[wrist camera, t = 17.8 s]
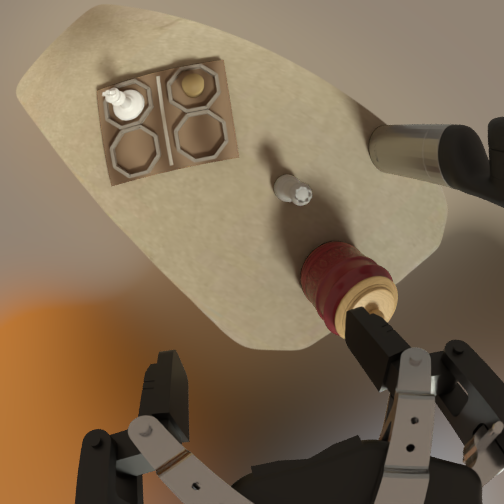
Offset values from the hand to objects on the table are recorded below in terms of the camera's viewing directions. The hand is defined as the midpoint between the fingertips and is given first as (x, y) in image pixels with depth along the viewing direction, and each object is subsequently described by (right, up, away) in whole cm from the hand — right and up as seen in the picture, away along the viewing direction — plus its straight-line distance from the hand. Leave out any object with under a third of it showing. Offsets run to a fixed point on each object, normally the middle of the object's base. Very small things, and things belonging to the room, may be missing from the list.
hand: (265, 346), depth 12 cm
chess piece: (-19, +26, +21) cm, 38 cm away
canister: (+14, +1, +39) cm, 41 cm away
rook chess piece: (+5, +15, +31) cm, 35 cm away
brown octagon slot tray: (-14, +24, +24) cm, 37 cm away
